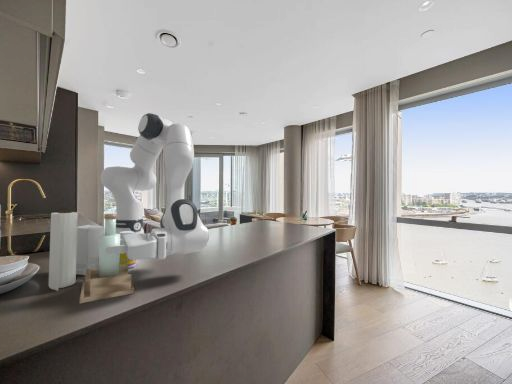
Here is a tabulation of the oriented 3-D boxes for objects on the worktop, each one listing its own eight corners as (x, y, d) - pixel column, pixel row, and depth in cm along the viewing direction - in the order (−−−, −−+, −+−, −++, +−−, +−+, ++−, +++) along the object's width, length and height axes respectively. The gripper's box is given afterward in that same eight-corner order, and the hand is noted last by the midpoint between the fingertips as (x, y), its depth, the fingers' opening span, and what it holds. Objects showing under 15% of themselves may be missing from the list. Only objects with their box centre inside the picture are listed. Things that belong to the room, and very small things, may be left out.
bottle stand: (129, 278, 73) (130, 263, 73) (134, 293, 64) (134, 274, 64) (82, 286, 67) (83, 269, 67) (79, 303, 57) (80, 283, 57)
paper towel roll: (62, 280, 71) (65, 210, 71) (80, 281, 70) (83, 211, 70) (38, 290, 63) (40, 212, 64) (58, 291, 63) (60, 213, 63)
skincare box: (104, 270, 80) (106, 225, 80) (86, 276, 74) (87, 228, 74) (86, 267, 83) (88, 224, 83) (67, 273, 76) (68, 226, 76)
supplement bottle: (138, 267, 85) (139, 232, 85) (118, 271, 80) (119, 234, 80) (132, 263, 89) (133, 230, 90) (112, 266, 85) (114, 231, 85)
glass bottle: (94, 278, 64) (96, 214, 64) (112, 273, 68) (113, 212, 69) (105, 281, 62) (107, 215, 62) (123, 276, 66) (124, 213, 66)
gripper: (152, 227, 81) (105, 230, 73) (166, 238, 64) (107, 243, 56) (151, 245, 81) (104, 250, 73) (165, 260, 64) (106, 268, 56)
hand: (105, 247), depth 65 cm, fingers closed on glass bottle, 5 cm apart
